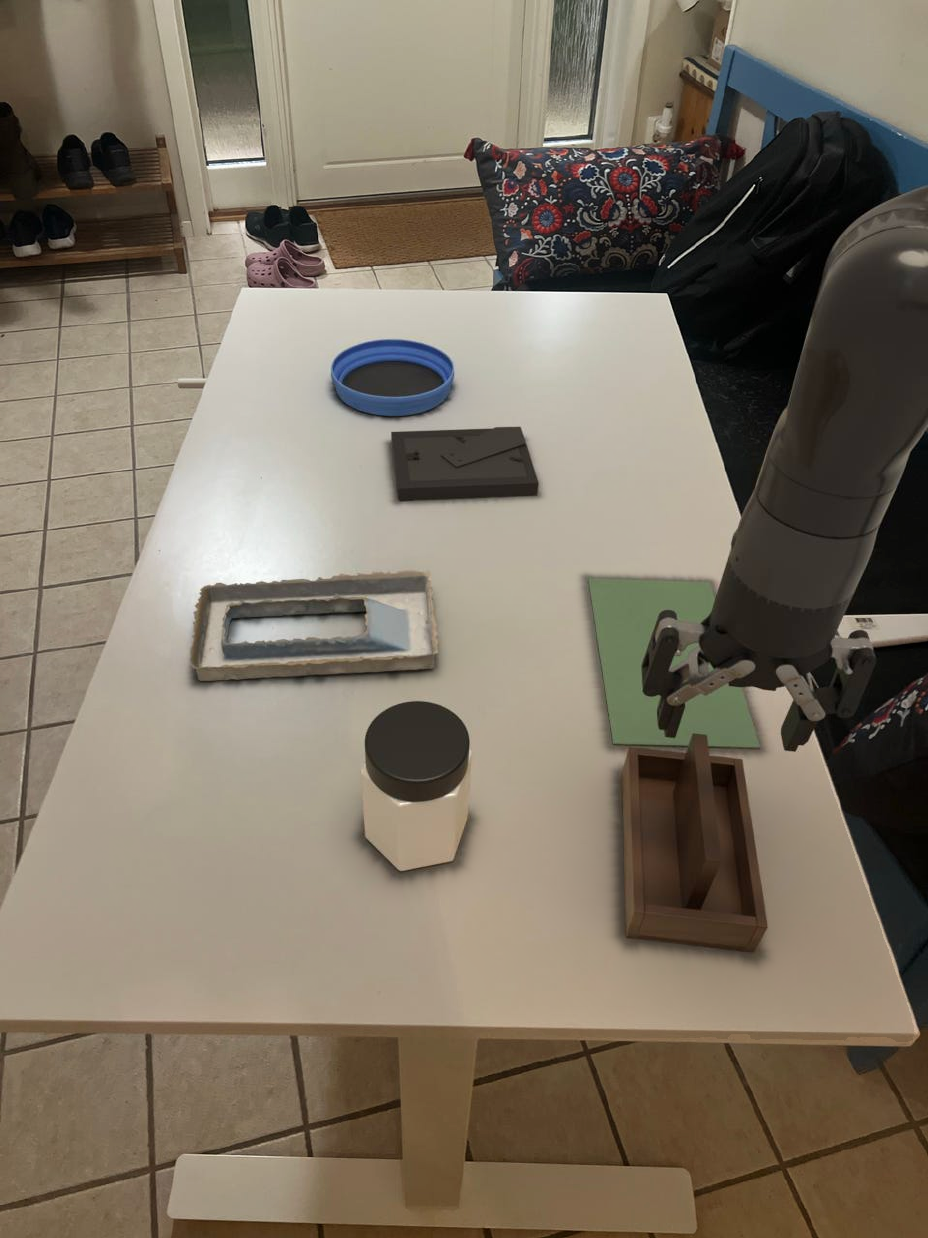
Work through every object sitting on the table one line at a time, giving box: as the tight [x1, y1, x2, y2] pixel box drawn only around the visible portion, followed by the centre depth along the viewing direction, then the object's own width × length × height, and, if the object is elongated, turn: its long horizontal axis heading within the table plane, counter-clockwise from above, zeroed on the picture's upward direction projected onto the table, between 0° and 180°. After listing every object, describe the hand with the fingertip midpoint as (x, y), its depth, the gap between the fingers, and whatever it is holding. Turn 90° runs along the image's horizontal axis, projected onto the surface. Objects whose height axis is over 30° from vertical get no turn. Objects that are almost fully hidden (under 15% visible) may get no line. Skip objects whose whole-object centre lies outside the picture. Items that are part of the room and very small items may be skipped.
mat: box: [587, 577, 761, 750], centre depth 93 cm, size 24×14×1 cm, turn 0°
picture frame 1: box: [189, 569, 440, 682], centre depth 92 cm, size 13×25×3 cm, turn 97°
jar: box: [360, 700, 473, 872], centre depth 72 cm, size 9×8×12 cm
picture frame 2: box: [390, 426, 540, 502], centre depth 116 cm, size 13×2×18 cm
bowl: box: [330, 338, 455, 417], centre depth 131 cm, size 18×18×4 cm
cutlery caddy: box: [621, 733, 769, 953], centre depth 72 cm, size 16×10×9 cm, turn 174°
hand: (728, 735), depth 64 cm, fingers open, 8 cm apart
